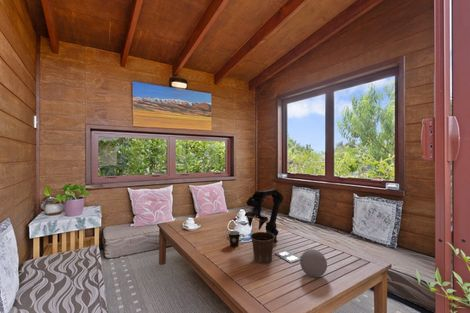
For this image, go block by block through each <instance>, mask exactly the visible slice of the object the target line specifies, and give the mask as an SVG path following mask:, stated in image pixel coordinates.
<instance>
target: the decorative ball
mask: <svg viewBox="0 0 470 313" xmlns="http://www.w3.org/2000/svg"><path fill="white" fill-rule="evenodd" d="M299 258H300V261H299V264H300V268H301V269H302V271H303V273H305V275H307V276H308V277H312V278H320V277H322V276H323V275H324V274H325V273H326V272H327V268H328V262H327V259H326V257H325V255H324V254H323V253H322V252H321V251H320V250H317V249H315V248H314V249H312V248H311V249H307V250H305V251H304V252H303V253H302V254H301V255H300V257H299Z"/></svg>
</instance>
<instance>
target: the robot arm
mask: <svg viewBox="0 0 470 313" xmlns="http://www.w3.org/2000/svg"><path fill="white" fill-rule="evenodd" d="M269 196H271V197H272V203H273V205H272V210H271V214H270V218H269V217H268V216H264V215H262V214H261V212H263V209H262V206H263V203H264V202H265V201H264V199H265V198H267V197H269ZM283 200H284V196H283V194H282V193H281V192H279V191H278V190H277V189H276V188H270V189H268V190H255V192H254V193H253V195H252V196H249V198H248V199H247V200H246V205H247V206H248V207H252V209H251V210H248V211H247V212H245V214H244V217H246V219H247V221H248V226H249V228H251V227H252V224H253V220H254V218H256V219H258V222H259V223H258V230H259V231H260V230H261V228H262V227H263V226H264V224H265V232H267V233H271V234H273V235H274V236H275V238H274V243H277V242H279V240H278V239H277V236H278V235H279V230H278V229H277V223H276V222H277V218H278V214H279V210H280V206H281V204H282V203H283V202H284V201H283Z"/></svg>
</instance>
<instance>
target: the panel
mask: <svg viewBox="0 0 470 313" xmlns="http://www.w3.org/2000/svg"><path fill="white" fill-rule="evenodd" d="M274 255H275V256H277V257H279V258H280V259H282V260H284V261H285V262H287V263H289V264H293V263H296V262H300V258H301V257H299V256H297V255H295V254H293V253H291V252H289V251H288V250H286V249H285V250H282V251H279V252H274Z"/></svg>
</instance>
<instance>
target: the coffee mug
mask: <svg viewBox="0 0 470 313" xmlns="http://www.w3.org/2000/svg"><path fill="white" fill-rule="evenodd" d="M228 236H229V237H228V238H229V246H230V247H231V248H237V247H239V243H240V242H241V241H242V240H245V235H244V234H241V233H240V231H238V230H230V231H229V232H228ZM240 236H242V237H243V238H241V239H240Z"/></svg>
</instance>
